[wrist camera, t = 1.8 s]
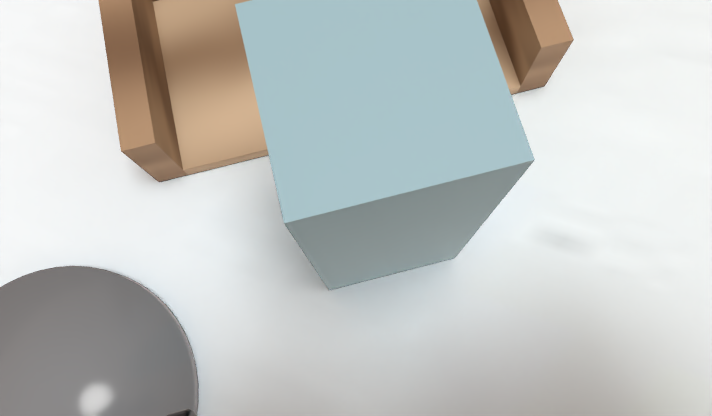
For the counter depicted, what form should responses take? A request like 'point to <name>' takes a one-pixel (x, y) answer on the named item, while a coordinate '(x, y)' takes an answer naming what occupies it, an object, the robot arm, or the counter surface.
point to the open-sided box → (233, 79)
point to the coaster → (91, 347)
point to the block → (382, 128)
